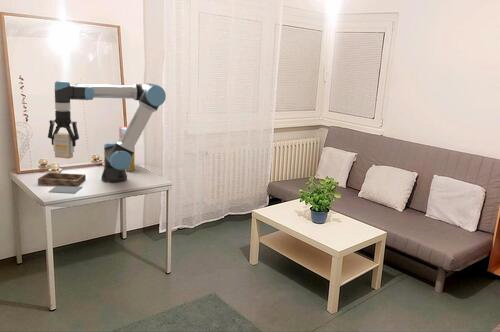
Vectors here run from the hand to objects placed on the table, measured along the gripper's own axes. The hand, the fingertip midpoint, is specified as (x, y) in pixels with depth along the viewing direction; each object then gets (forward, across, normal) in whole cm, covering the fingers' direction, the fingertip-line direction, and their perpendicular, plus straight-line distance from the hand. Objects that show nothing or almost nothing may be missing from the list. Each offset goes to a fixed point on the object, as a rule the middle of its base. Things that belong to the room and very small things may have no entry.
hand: (63, 151), depth 233 cm
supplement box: (+3, 0, 0) cm, 3 cm away
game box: (+21, -19, -56) cm, 63 cm away
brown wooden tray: (+21, +6, -13) cm, 26 cm away
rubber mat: (+21, -1, +1) cm, 22 cm away
